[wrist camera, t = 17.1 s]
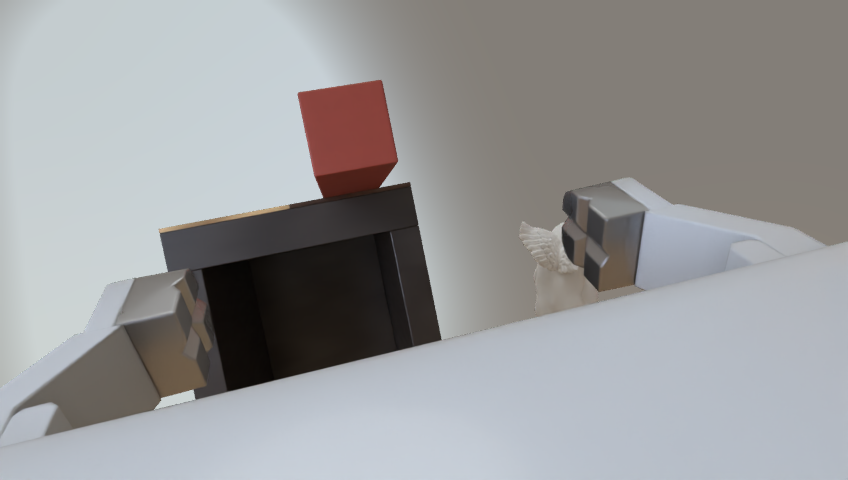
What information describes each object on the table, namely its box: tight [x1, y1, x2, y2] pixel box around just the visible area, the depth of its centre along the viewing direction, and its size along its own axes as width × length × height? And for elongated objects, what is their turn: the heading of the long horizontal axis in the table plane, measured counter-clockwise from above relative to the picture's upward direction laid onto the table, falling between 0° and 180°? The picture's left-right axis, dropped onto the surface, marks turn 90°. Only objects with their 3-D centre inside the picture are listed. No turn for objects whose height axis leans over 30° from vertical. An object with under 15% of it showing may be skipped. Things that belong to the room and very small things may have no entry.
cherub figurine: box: [519, 221, 598, 317], centre depth 67 cm, size 12×12×22 cm
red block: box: [298, 80, 398, 198], centre depth 28 cm, size 3×22×3 cm, turn 9°
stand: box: [159, 182, 441, 400], centre depth 32 cm, size 12×14×26 cm
